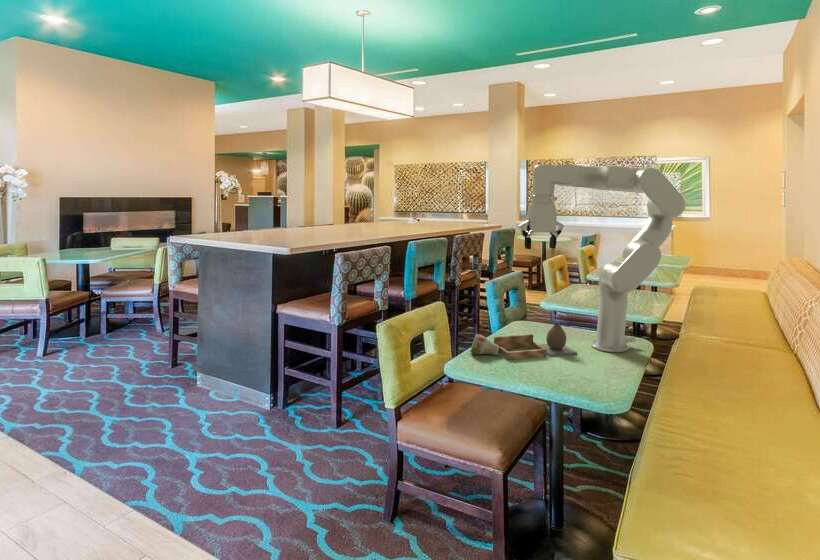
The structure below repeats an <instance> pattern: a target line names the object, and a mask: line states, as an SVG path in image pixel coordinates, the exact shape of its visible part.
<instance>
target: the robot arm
mask: <svg viewBox="0 0 820 560" xmlns="http://www.w3.org/2000/svg"><path fill="white" fill-rule="evenodd" d="M532 169H533V171H532V191H531V203H530V204H528V209H527V213H526V218H525V219H526V220H525V221H524V222H522V223H520V224H519V225H518V229H519V231H520V234H521V235H522V236H523V238H524V249H526V250H531V249H532V238H531V236H532V235H533V234H534V233H536V234H537V233H539V234H540V233H542V234H543V233H544V234H545V233H549V235H550V237H549V249H556V247H557V238H558V237H559V236H560V234H562V231H563V228H565V225H564V224H563V223H561V222H559V221H557V208H556V204H554V203H555V202H556V201H557V200H558V197H557V196H555V185H557V186H559V187H572V188H586V189H592V190H593V189H594V190H597V191H609V192H610V191H611V192H623V193H636V194H641V193H643V194H645V196H647V198H648V200H647V203H646V209H647V214H648V217H647V221H646V223H645V225H644V226H643V227H642V228H641V230H640V231H638V233H637V234H635V236H634V237H633V238H632V239H631V240H630V241H629V242H628V243H627V244H626V246H625V247H624V248H623V250H622V259H623V260H624V261H623V262H618V261H609V262H607V263H606V264H604V265H603V266H602V267H601V269H600V271H599V276H598V282H599V285H598V286H599V299H598V301H599V303H598V313H597V325H596V326H597V327H596V340H592V341H591V347H592V348H594V349H596V350H598V351H603V352H608V353H624V352H627V351H628V350H629V345H628V343H635V342H636V337H635V336H628V335H625V334H626V333H625V332H626V321H627V310H628V299H629V297H628V294H629V293H631V292H633V291H634V290H636V289H637V288H638V287H640V285H641V284H642V283H643V282H644V281H645V280H646V279H647V278H648V277H649V276H650V275H651V274H652V273H653V272H654V271H655V270H656V269H657V268H658V266H659V264H660V262H661V259H662V252H661V249H660V247H661V246H662V245H663V244H664V243H665V241H666V240H667V239H668V237H669V236H670V234H671V231H672V229H673V219H675V218H678V217H679V216H681V215H682V214H683V213H684V211H685V209H686V201H685V199H684V196H683V195H682V194H681V192H680V191H679V190H678V189H677V188H676V187H675V186H674V185H673V184H672V182H671V181H670V180H669V178H667V177H666V176H665V174H663V173H662V172H661V171H660V170H659V169H658V168H655V167H635V166H633V167H631V166H618V165H598V166H597V165H596V166H583V165H574V164H572V163H563V164H543V163H542V164H536V165H535V166H534V167H533V168H532Z"/></svg>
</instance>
